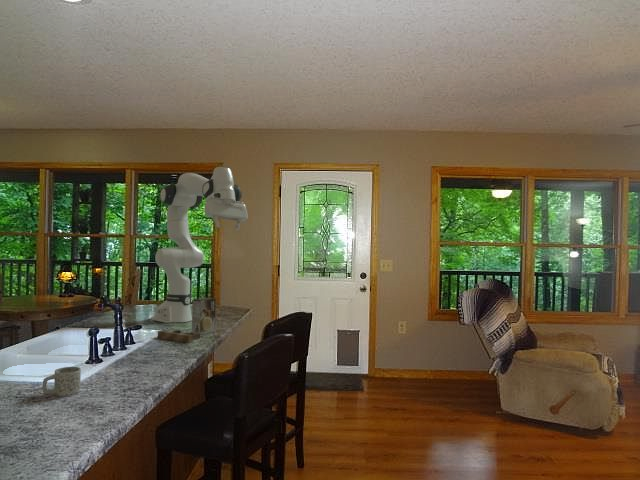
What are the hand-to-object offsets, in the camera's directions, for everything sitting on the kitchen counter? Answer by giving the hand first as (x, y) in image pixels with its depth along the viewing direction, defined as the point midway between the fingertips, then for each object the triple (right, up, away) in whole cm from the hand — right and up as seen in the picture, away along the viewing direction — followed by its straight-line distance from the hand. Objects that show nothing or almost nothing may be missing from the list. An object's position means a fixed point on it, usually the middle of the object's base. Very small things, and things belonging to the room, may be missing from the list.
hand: (228, 227), depth 209 cm
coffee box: (-15, -49, +15) cm, 54 cm away
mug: (-34, -50, -74) cm, 95 cm away
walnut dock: (-21, -49, +3) cm, 53 cm away
